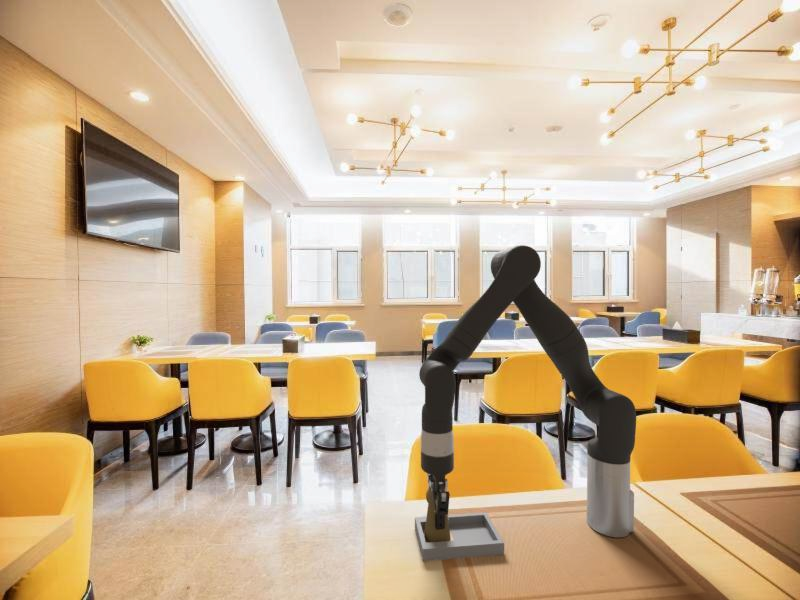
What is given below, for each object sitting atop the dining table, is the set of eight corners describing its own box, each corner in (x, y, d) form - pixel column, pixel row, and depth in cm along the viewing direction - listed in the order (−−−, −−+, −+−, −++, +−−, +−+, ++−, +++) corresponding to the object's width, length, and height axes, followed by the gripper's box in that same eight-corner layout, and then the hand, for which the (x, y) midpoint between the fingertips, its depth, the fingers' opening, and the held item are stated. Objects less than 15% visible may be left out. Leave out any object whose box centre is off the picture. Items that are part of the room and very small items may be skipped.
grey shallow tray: (486, 522, 94) (486, 512, 94) (504, 554, 82) (504, 542, 82) (414, 527, 92) (414, 517, 92) (422, 561, 80) (422, 549, 80)
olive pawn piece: (449, 546, 83) (449, 497, 83) (422, 543, 84) (422, 494, 84) (451, 530, 89) (451, 483, 89) (426, 527, 90) (425, 481, 90)
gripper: (461, 461, 79) (462, 541, 80) (446, 435, 94) (446, 503, 94) (426, 463, 79) (427, 544, 79) (416, 437, 93) (416, 505, 93)
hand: (437, 521), depth 87 cm, fingers open, 4 cm apart
